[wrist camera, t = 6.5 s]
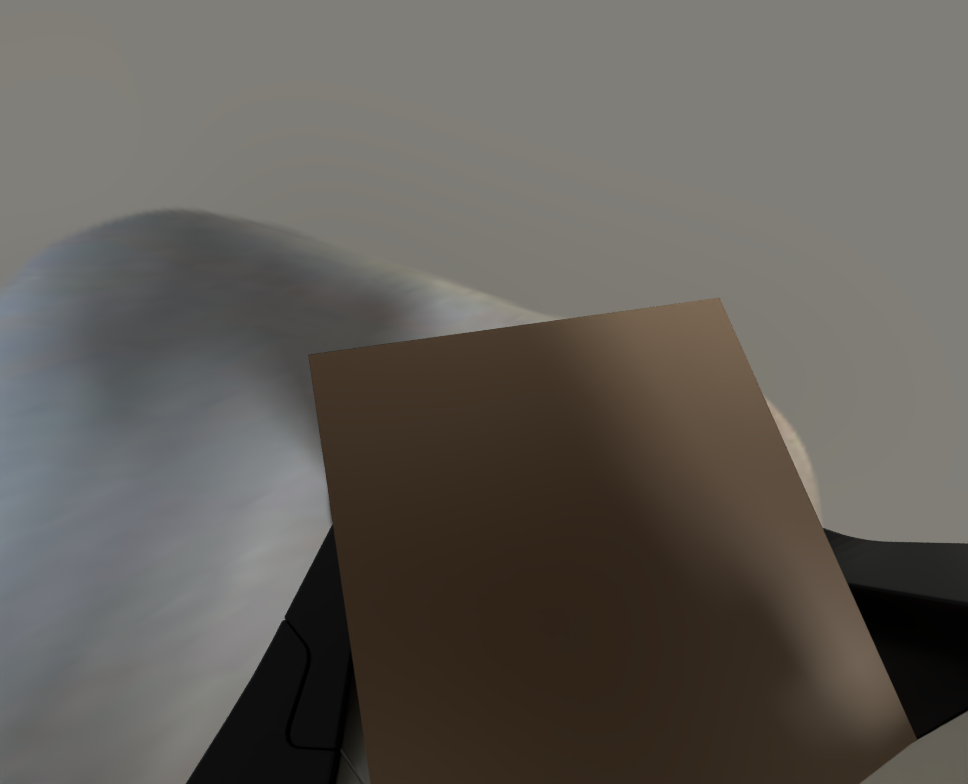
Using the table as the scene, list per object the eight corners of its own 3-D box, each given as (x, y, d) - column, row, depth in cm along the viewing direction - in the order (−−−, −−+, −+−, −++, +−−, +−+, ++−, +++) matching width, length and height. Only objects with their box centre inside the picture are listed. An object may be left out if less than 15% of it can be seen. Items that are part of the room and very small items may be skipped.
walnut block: (515, 548, 16) (916, 738, 3) (404, 585, 14) (418, 1123, 2) (488, 440, 17) (719, 297, 5) (382, 465, 15) (307, 354, 3)
